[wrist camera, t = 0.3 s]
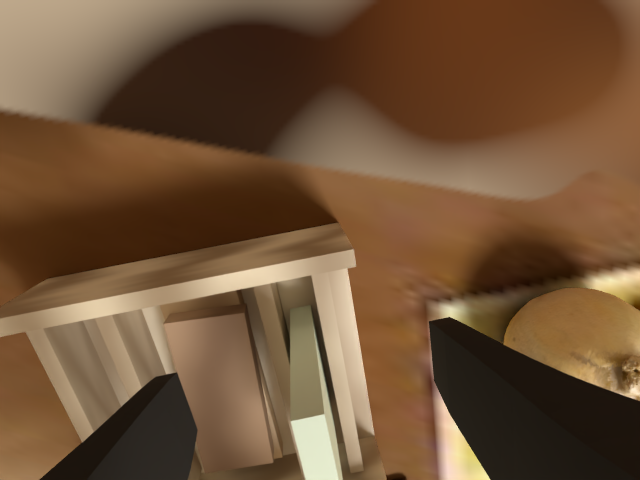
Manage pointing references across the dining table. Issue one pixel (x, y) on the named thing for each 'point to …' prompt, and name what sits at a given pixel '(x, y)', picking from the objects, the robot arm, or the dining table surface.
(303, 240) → the rack
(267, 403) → the offcut lower
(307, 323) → the panel
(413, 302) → the dining table surface
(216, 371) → the offcut upper
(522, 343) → the onion
